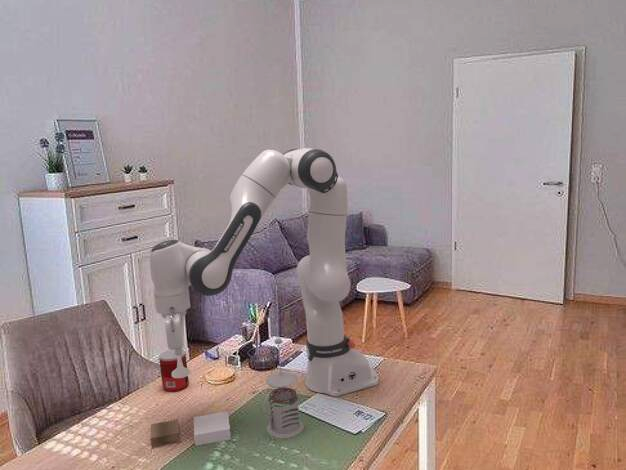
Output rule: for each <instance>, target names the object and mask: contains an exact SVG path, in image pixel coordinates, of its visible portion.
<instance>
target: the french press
mask: <svg viewBox="0 0 626 470" xmlns="http://www.w3.org/2000/svg"><path fill="white" fill-rule="evenodd" d="M274 344H276V345H277V346H278V348H280V345H281V344H283V340H282V338H280V337H278V338H275V340H274ZM280 352H281V351H280V349H278V358H279V359H278V360H279V361H281V354H280ZM281 365H282V364H281V362H279V369H280V371H277V372H274V373H272V374H271V375H269V376H267V378H266V379H265V382H266V385H268V387H270V388H274V389H273V390H272V391H271V390H269V388H267V389H265V390H264V391H263V393H262V394H261V397H260V401H259V407H260V408H259V409H260V411H261V413H262V414H263V415H265V416H266V417H268V418H269V424H268V425H267V427H266V433H267V434H268V435H269V436H271V437H274V438H276V439H286V438H287V439H288V438H292V437H295V436H298V435H299V434H300V433H301V432H303V430H304V427H305V426H304V423H303V422H302V421H301V420H300V409H299V398H298V395H297V391H296V389H294V388H292V387H291V386H292V385H294V384H295V383H296V382H297V380H298V377H297V375H296V374H294V373H292V372H290V371H282V366H281ZM266 392H268V393H267V395H266V397H265V399H264V403H263V409H264V410H263V409H262V399H263V397H264V394H265V393H266ZM267 398H268V400H267ZM267 401H268V412H269V414H267V411H266V402H267ZM273 404H274V405H273ZM277 404H280V405H277ZM284 405H286V406H284Z"/></svg>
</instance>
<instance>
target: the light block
mask: <svg viewBox="0 0 626 470" xmlns="http://www.w3.org/2000/svg"><path fill="white" fill-rule="evenodd" d="M228 412H229V411H221V412H216V413H210V414H205V415H199V416H193V437H194V439H193V440H194V444H195V446H196V447H198V446H202V445H203V444H204V445H209V444H214V443H220V442H225V441H230V440H232V437H231V426H230V421H229V420H230V419H229V413H228Z"/></svg>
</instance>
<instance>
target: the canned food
mask: <svg viewBox="0 0 626 470" xmlns="http://www.w3.org/2000/svg"><path fill="white" fill-rule="evenodd" d="M182 353H183V355H182V356H181V359H182V363H183V367H185V368H188V363H187V354H186V351H185V350H184V349H182ZM158 357H159V359H158V360H159V368H160V375H161V382H162V389H163V390H164V391H166V392H168V393H169V392H170V393H171V392H173V393H174V392H178V391H179V392H180V391H183V390H184V389H186V388H187V387H188V386H189V381H190V380H189V375H188V376H186V377H183V378H173V377H172V371H174V370H175V369H176V368H177V357H176V356H175V350H174V349H172V350H170V349H167V350H165V351H162V352H161V353H159V355H158Z"/></svg>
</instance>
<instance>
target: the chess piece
mask: <svg viewBox="0 0 626 470" xmlns="http://www.w3.org/2000/svg"><path fill="white" fill-rule="evenodd" d="M182 355H183V353H182ZM182 355H178V356H176V355H175V356H176V357H177V368H176V369H175V370H174V371H172V377H173V378H183V377H186V376H188V377H189V375H190V374H191V369H189V367H187V368H185V367H183V363H182V359H181V356H182Z"/></svg>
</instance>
